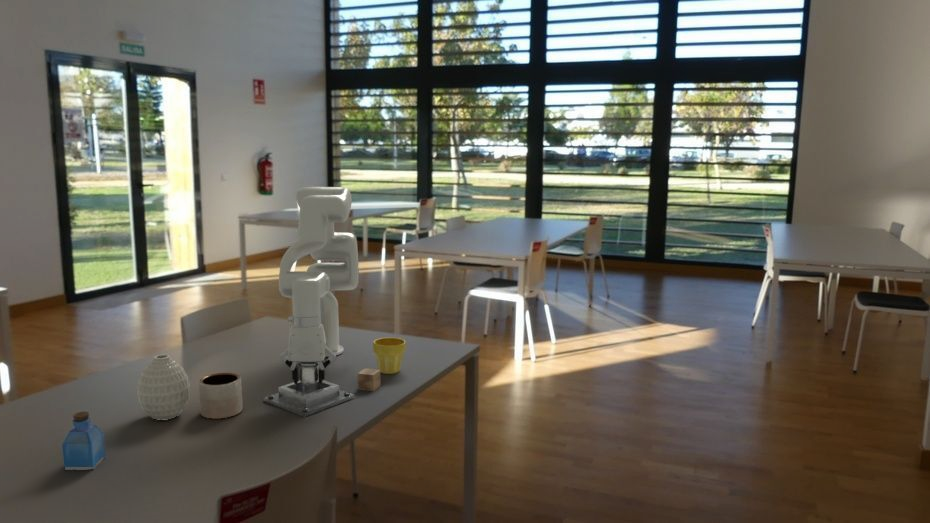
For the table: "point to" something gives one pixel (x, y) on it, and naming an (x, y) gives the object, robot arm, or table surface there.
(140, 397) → the vase
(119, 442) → the table surface
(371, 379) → the wooden cube
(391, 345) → the plant pot
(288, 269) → the robot arm
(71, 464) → the perfume bottle
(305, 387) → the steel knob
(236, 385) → the planter
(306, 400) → the square metal socket
